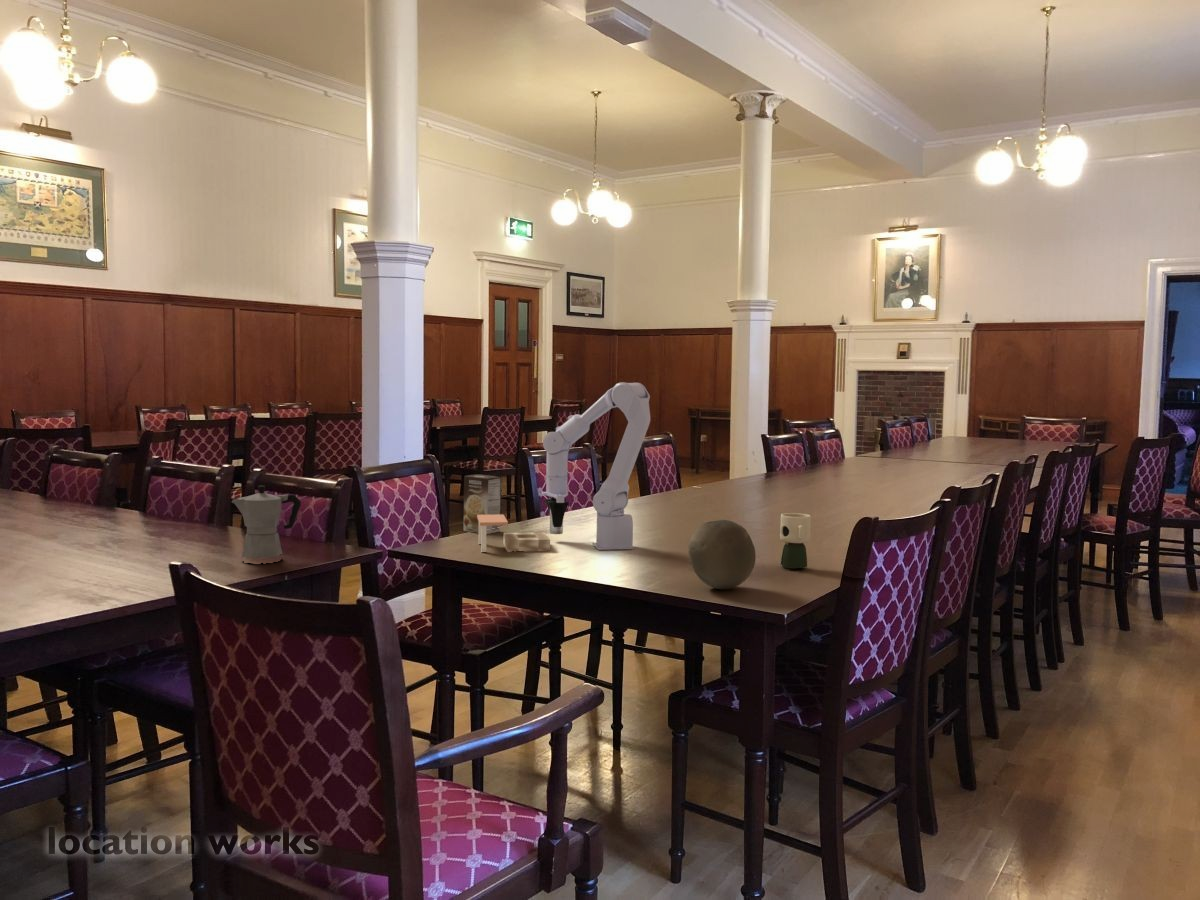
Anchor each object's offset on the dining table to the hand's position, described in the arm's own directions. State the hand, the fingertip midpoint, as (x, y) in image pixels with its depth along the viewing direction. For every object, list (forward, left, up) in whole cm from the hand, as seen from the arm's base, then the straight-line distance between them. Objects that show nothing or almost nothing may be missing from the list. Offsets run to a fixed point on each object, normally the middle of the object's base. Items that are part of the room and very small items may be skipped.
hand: (556, 525), depth 248 cm
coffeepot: (+72, +19, -5) cm, 75 cm away
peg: (0, 0, -2) cm, 2 cm away
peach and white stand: (+18, +8, -4) cm, 20 cm away
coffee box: (+19, -18, -5) cm, 27 cm away
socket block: (+9, +8, -4) cm, 13 cm away
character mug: (-52, +40, -5) cm, 66 cm away
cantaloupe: (-27, +60, -5) cm, 66 cm away
